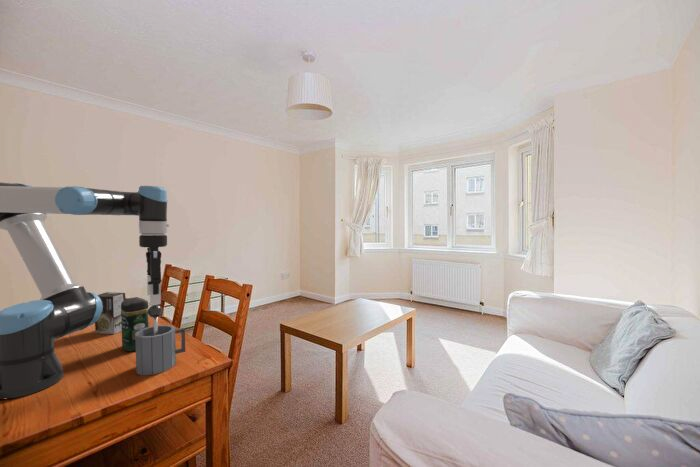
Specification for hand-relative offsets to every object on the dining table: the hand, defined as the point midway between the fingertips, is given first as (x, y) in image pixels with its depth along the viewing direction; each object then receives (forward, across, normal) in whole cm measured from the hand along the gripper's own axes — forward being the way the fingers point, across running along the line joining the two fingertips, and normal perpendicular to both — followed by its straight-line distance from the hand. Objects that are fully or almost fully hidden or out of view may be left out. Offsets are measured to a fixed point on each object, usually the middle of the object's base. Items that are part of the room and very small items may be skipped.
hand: (153, 299), depth 97 cm
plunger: (+19, 0, 0) cm, 19 cm away
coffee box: (+23, +46, +12) cm, 53 cm away
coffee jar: (+23, +22, +4) cm, 32 cm away
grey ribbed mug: (+22, -1, -2) cm, 23 cm away
